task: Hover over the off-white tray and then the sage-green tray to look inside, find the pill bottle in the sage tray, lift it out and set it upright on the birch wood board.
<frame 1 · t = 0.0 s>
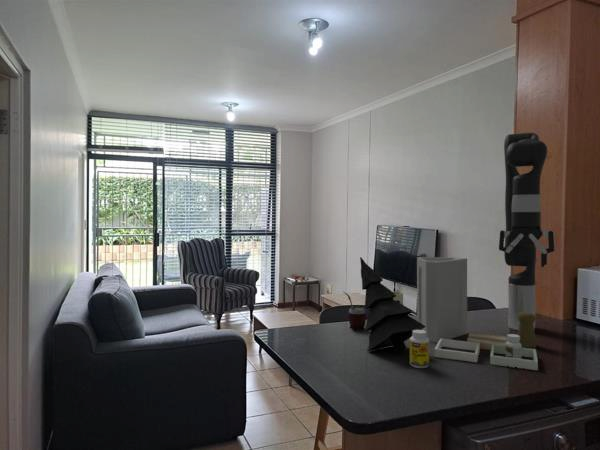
hand: (525, 266, 126), 29 cm above the worktop, fingers open, 8 cm apart
birch board: (487, 344, 147), on the worktop
cork: (526, 345, 147), on the worktop
mate gourd: (356, 329, 169), on the worktop
character mug: (394, 325, 174), on the worktop
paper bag: (435, 334, 162), on the worktop
sage tray: (513, 360, 131), on the worktop
pill bottle: (513, 361, 131), resting in sage tray
decorative tree: (383, 348, 145), on the worktop
offwhite tray: (457, 353, 138), on the worktop
supplement bottle: (419, 366, 128), on the worktop
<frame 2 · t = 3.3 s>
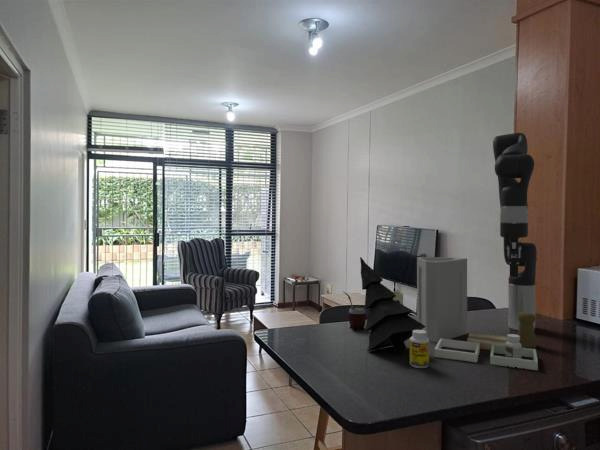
hand: (513, 275, 131), 26 cm above the worktop, fingers open, 8 cm apart
nothing on the worktop moved.
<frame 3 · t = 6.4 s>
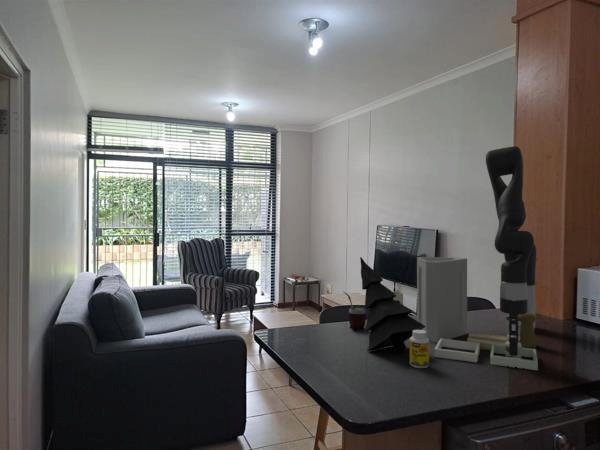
hand: (513, 352, 131), 3 cm above the worktop, fingers closed on pill bottle, 4 cm apart
pill bottle: (513, 361, 131), resting in sage tray, touching gripper
everything else where it was.
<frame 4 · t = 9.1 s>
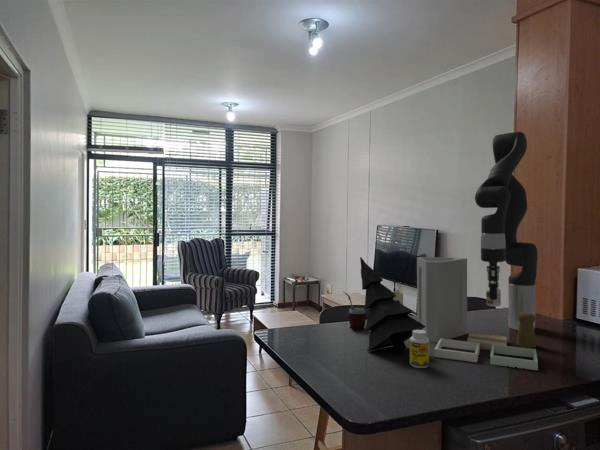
hand: (493, 297, 144), 17 cm above the worktop, fingers closed on pill bottle, 4 cm apart
pill bottle: (493, 305, 144), point 14 cm above the worktop, touching gripper
everything else where it was.
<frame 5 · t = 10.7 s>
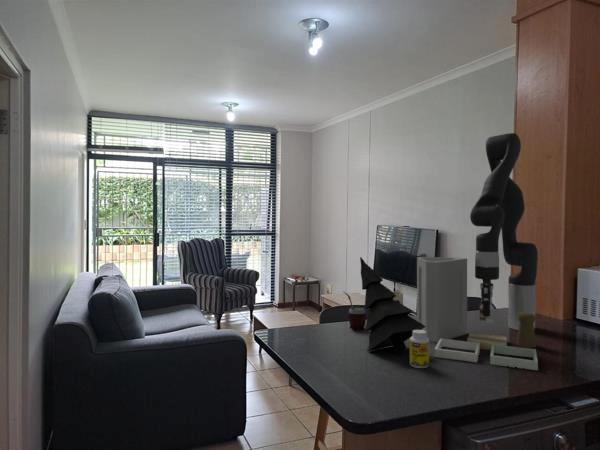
hand: (486, 314, 147), 10 cm above the worktop, fingers closed on pill bottle, 4 cm apart
pill bottle: (486, 322, 147), point 8 cm above the worktop, touching gripper
everything else where it was.
when the fingers open (6 cm above the worktop, at t = 11.9 s): pill bottle drops 2 cm, resting on birch board.
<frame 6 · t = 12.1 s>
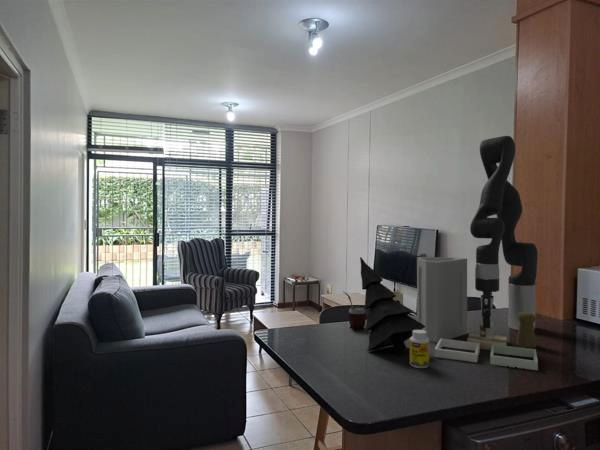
hand: (487, 325, 147), 7 cm above the worktop, fingers open, 6 cm apart
pill bottle: (486, 339, 148), point 2 cm above the worktop, touching birch board
everything else where it was.
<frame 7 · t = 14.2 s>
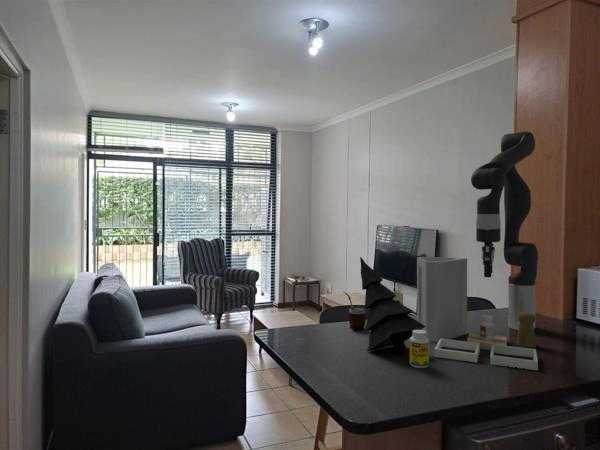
hand: (488, 275, 147), 24 cm above the worktop, fingers open, 8 cm apart
nothing on the worktop moved.
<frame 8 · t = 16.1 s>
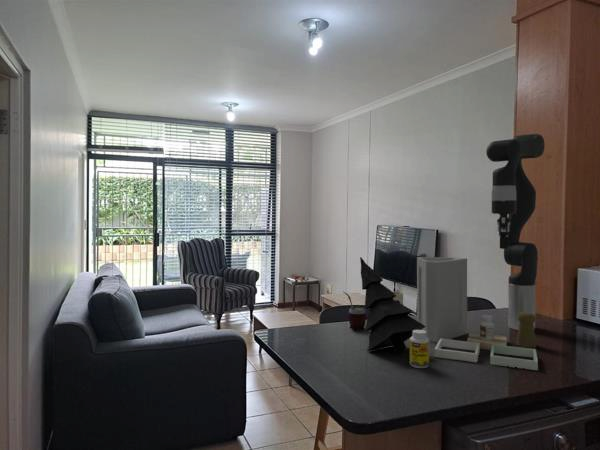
hand: (503, 247, 146), 33 cm above the worktop, fingers open, 8 cm apart
nothing on the worktop moved.
at the end: pill bottle inside the target area on the birch board (0.2 cm from its centre), point 1.8 cm above the birch board's base; pill bottle tilted 0°; the gripper is holding nothing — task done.
